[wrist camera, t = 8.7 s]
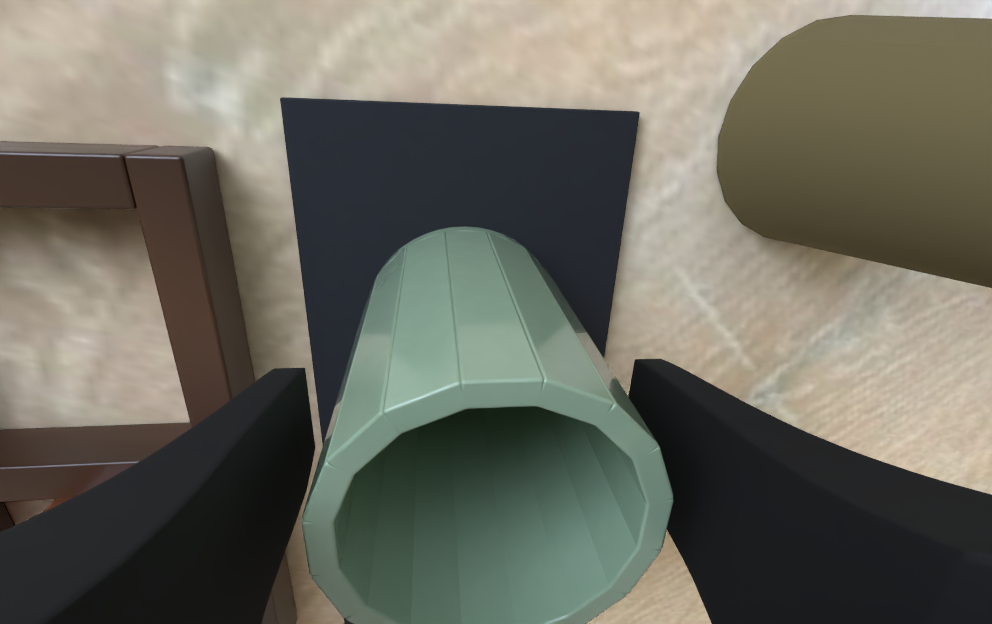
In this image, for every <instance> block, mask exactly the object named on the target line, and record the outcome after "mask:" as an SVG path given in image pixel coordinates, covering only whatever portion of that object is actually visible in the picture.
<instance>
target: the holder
mask: <svg viewBox="0 0 992 624" xmlns="http://www.w3.org/2000/svg"><path fill="white" fill-rule="evenodd" d="M0 208H70V209H135V208H137V210H138V214H139V218H140V222H141V226H142V230H143V234H144V238H145V242H146V246H147V250H148V254H149V258H150V262H151V266H152V270H153V274H154V278H155V282H156V286H157V290H158V294H159V298H160V302H161V306H162V310H163V314H164V318H165V322H166V326H167V330H168V334H169V338H170V342H171V346H172V350H173V354H174V358H175V362H176V366H177V370H178V374H179V378H180V382H181V386H182V390H183V394H184V398H185V402H186V406H187V410H188V414H189V418H190V422H191V423H168V424H141V425H114V426H87V427H60V428H33V429H5V430H0V532H2V531H4V530H7V529H9V528H11V527H13V526H14V525H13V523H12V521H11V519H10V517H9V514H8V512H7V510H6V508H5V506H4V504H3V502H8V501H27V500H46V499H65V498H73V497H75V496H78V495H80V494H82V493H84V492H86V491H88V490H90V489H91V488H93V487H95V486H97V485H99V484H101V483H103V482H104V481H106V480H108V479H110V478H112V477H113V476H115V475H117V474H119V473H121V472H122V471H124V470H126V469H128V468H130V467H131V466H133V465H135V464H136V463H138V462H140V461H141V460H143V459H145V458H146V457H148V456H150V455H151V454H153V453H155V452H156V451H158V450H159V449H161V448H162V447H164V446H165V445H167V444H168V443H170V442H171V441H173V440H174V439H176V438H177V437H179V436H180V435H182V434H183V433H185V432H186V431H188V430H189V429H191V428H192V427H194V426H195V425H197V424H198V423H200V422H201V421H203V420H204V419H206V418H207V417H208V416H210V415H211V414H212V413H214V412H215V411H217V410H218V409H219V408H221V407H222V406H223V405H225V404H226V403H227V402H229V401H230V400H232V399H233V398H234V397H236V396H237V395H238V394H240V393H241V392H242V391H244V390H245V389H246V388H248V387H249V386H250V385H252V384H253V383H254V382H255V381H254V376H253V370H252V365H251V359H250V354H249V348H248V342H247V337H246V331H245V326H244V320H243V315H242V309H241V304H240V298H239V292H238V287H237V281H236V276H235V270H234V265H233V259H232V254H231V248H230V242H229V237H228V231H227V226H226V220H225V215H224V209H223V204H222V198H221V192H220V187H219V181H218V176H217V170H216V165H215V159H214V154H213V150H212V148H209V147H187V146H161V147H159V146H153V145H116V144H80V143H44V142H7V141H0ZM296 621H297V615H296V609H295V603H294V598H293V592H292V587H291V581H290V576H289V570H288V565H287V559H286V553H285V554H284V556H283V559H282V562H281V565H280V568H279V571H278V573H277V576H276V579H275V582H274V585H273V588H272V590H271V593H270V597H269V600H268V603H267V607H266V610H265V613H264V616H263V620H262V624H296Z"/></svg>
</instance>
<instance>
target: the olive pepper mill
mask: <svg viewBox="0 0 992 624" xmlns="http://www.w3.org/2000/svg"><path fill="white" fill-rule="evenodd" d="M717 173H718V177H719V180H720V184H721V188H722V191H723V195H724V199H725V201H726V203H727V204H728V206H729V207H730V208H731V210H732V211H733V212H734V214H735V215H736V217H737V218H738V219H739V221H740V222H741V223H742V224H744V225H745V226H747V227H749V228H750V229H752V230H754V231H755V232H757V233H759V234H760V235H762V236H764V237H767V238H772V239H776V240H780V241H785V242H789V243H794V244H798V245H803V246H807V247H812V248H816V249H820V250H825V251H829V252H834V253H838V254H843V255H847V256H852V257H856V258H861V259H865V260H869V261H874V262H878V263H883V264H887V265H892V266H896V267H901V268H905V269H909V270H914V271H918V272H923V273H927V274H932V275H936V276H941V277H945V278H949V279H954V280H958V281H963V282H967V283H972V284H976V285H981V286H985V287H990V288H992V19H979V18H942V17H904V16H867V15H849V16H842V17H835V18H829V19H822V20H817V21H815V22H813V23H811V24H809V25H807V26H805V27H803V28H801V29H799V30H797V31H795V32H793V33H791V34H789V35H787V36H786V37H784V38H782V39H781V40H780V41H779V42H778V43H777V44H776V45H775V46H774V47H773V48H771V49H770V50H769V51H768V52H767V53H766V54H765V55H764V56H763V57H762V58H761V59H760V60H759V61H757V62H756V63H755V64H754V65H753V66H752V68H751V70H750V71H749V73H748V74H747V76H746V77H745V79H744V80H743V82H742V84H741V85H740V87H739V88H738V90H737V91H736V93H735V94H734V96H733V98H732V99H731V101H730V104H729V107H728V110H727V113H726V116H725V119H724V122H723V125H722V128H721V131H720V134H719V142H718V162H717Z"/></svg>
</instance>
